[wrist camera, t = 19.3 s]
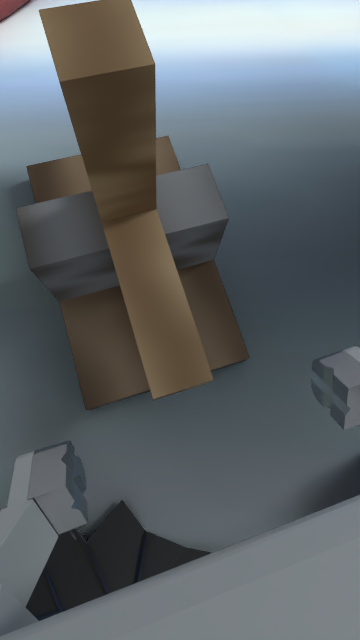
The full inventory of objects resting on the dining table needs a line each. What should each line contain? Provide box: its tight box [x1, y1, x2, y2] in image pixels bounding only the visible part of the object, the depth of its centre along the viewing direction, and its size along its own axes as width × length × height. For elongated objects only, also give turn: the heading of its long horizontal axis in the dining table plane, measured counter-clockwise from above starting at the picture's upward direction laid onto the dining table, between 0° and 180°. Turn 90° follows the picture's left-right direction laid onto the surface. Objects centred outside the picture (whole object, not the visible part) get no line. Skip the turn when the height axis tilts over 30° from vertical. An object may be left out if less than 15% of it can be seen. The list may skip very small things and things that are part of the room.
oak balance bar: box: [39, 0, 214, 400], centre depth 16 cm, size 3×22×10 cm, turn 18°
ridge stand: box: [16, 136, 250, 410], centre depth 24 cm, size 12×20×8 cm, turn 18°
